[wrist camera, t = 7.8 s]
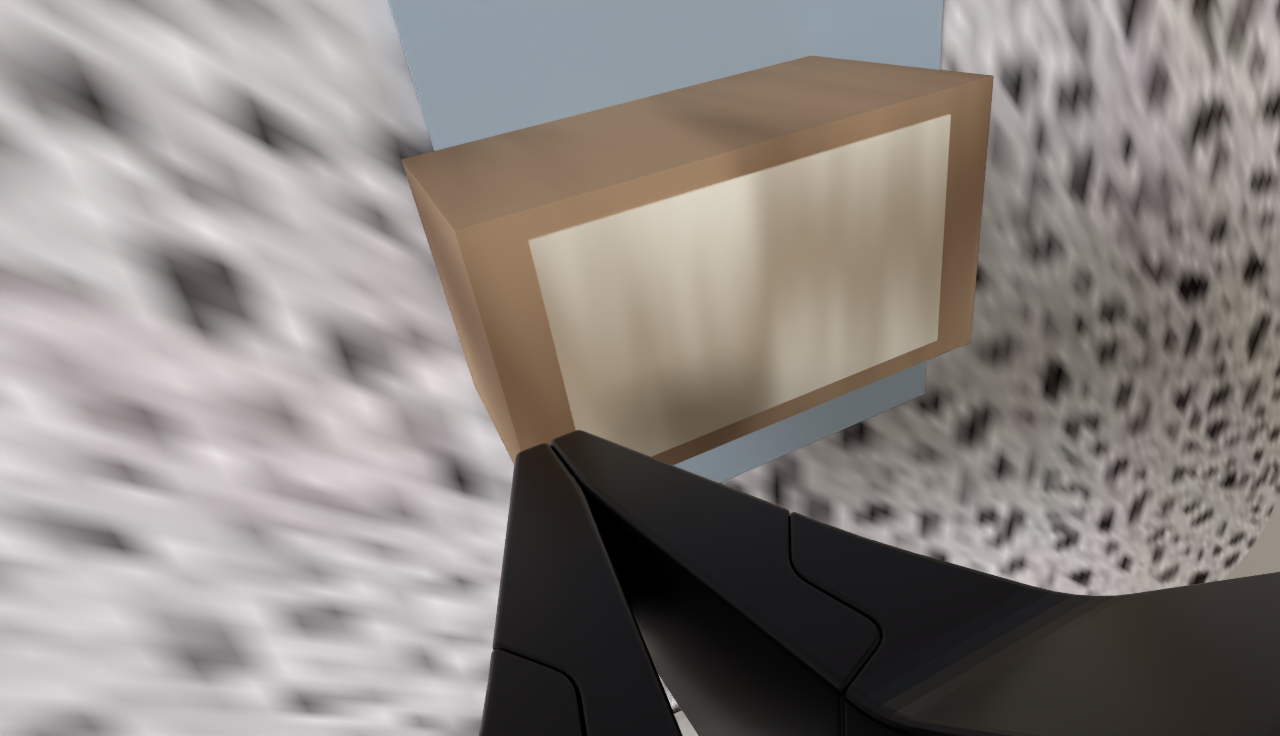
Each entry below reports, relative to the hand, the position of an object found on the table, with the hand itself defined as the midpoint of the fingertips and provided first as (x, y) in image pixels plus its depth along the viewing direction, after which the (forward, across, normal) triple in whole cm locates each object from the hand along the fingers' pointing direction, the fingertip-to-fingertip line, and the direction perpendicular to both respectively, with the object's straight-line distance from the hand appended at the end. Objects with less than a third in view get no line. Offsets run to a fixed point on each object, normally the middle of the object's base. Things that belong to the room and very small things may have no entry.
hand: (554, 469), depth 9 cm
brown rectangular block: (+4, 0, 0) cm, 5 cm away
